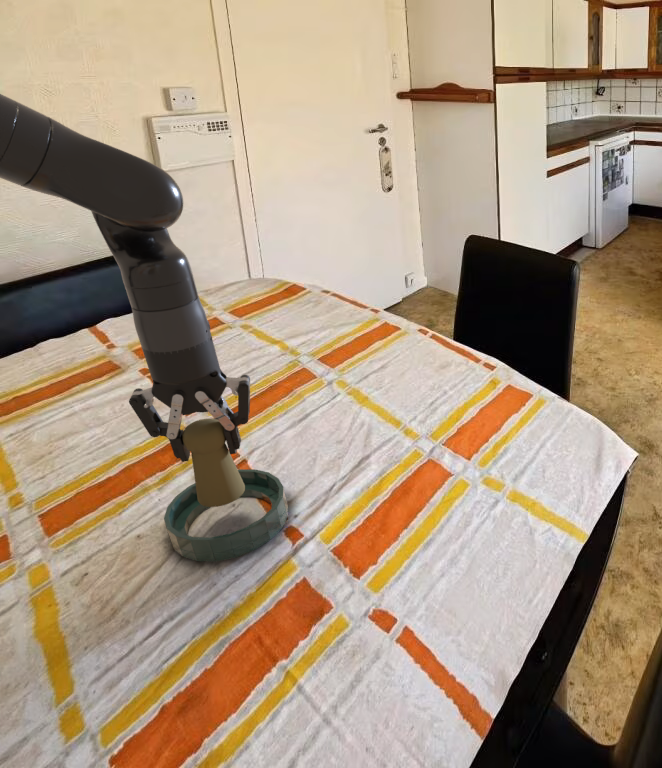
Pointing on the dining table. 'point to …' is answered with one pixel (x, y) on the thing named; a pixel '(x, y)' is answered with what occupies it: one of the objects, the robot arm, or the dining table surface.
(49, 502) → the dining table surface
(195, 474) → the cork
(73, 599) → the dining table surface
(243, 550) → the green faceted band
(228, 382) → the robot arm
